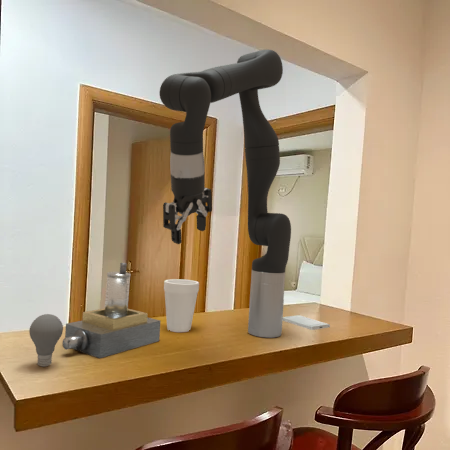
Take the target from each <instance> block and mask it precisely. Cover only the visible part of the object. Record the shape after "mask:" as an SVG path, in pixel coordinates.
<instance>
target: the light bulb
mask: <svg viewBox="0 0 450 450" xmlns="http://www.w3.org/2000/svg"><path fill="white" fill-rule="evenodd" d="M29 326H30V327H29V337H30V339H31V341H32V342H33V344H34V346H35V351H36V354H37V363H36V365H38V366H40V367H41V368H42V367H43V368H45V367H48V366H50V365H51V364H52V363H53V362H52V361H53V360H52V359H53V358H52V357H53V353H54V351H55V348H56V345H57V343H58V342H59V341H60V339H61V337H62V335H63V331H64V325H63V323H62V321H61V319H60V318H59V317H58V316H56V315H54V314H49V313H45V314H41V315H39V316H37V317H36V318H35V319H34V320H33V321H32V322H31V324H30V325H29Z"/></svg>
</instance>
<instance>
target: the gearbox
mask: <svg viewBox="0 0 450 450" xmlns="http://www.w3.org/2000/svg"><path fill="white" fill-rule="evenodd" d="M104 311H105V307H104V308H100V309H94V310H88V311H83V312H82V320H78V321H73V322H68V323H65V333H64V335H65V336H64V338H63V339H62V342H61V343H62V347H63V349H64V350H71V349H73V350H75V351H77V352H81V353H84V354H86V355H89V356H92V357H94V358H97V359H102V358H105V357H109V356H112V355H115V354H116V355H117V354H119V353H123V352H127V351H130V350H132V349H136V348H140V347H144V346H147V345H150V344H154V343H156V342H157V343H158V342H159V341H160V333H161V320H160V319H155V318H152V317H148V313H147V312H143V311H140V310H135V309H132V308H131V309H130V308H128V310H127V316H124V317H119V318H110V317H106V316H104Z"/></svg>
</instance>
